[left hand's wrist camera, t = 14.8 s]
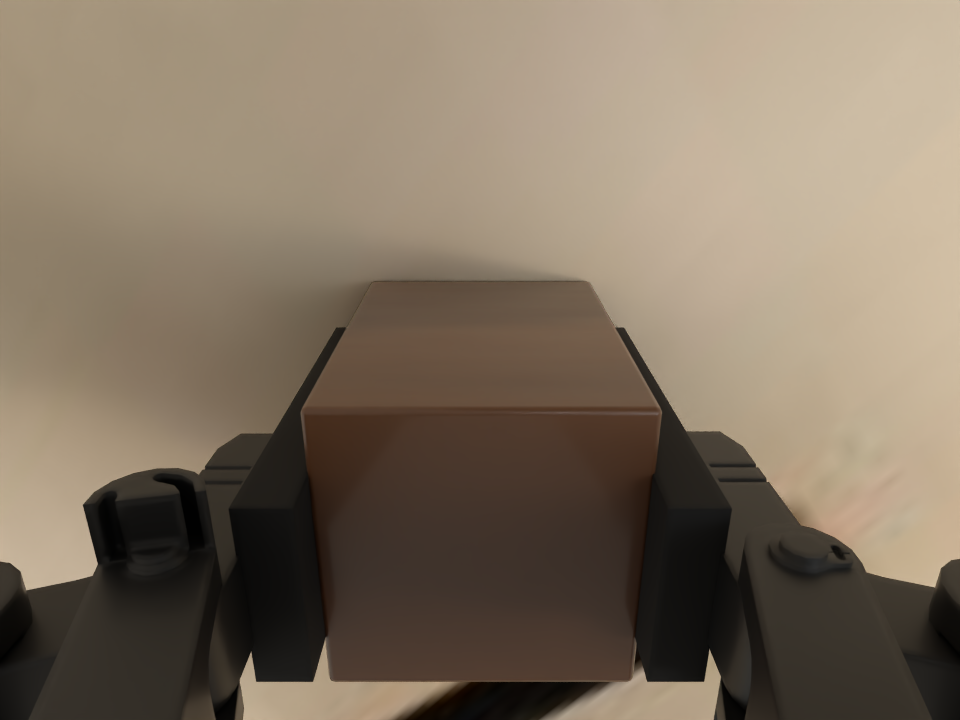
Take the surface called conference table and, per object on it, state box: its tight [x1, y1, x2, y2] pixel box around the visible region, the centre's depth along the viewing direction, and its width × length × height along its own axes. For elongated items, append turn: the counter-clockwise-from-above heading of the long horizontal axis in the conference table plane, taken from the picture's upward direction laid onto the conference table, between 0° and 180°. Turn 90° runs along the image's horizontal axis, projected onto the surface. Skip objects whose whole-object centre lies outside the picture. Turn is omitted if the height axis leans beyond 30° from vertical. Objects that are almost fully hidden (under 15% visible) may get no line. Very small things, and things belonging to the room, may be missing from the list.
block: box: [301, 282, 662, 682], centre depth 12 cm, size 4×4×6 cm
